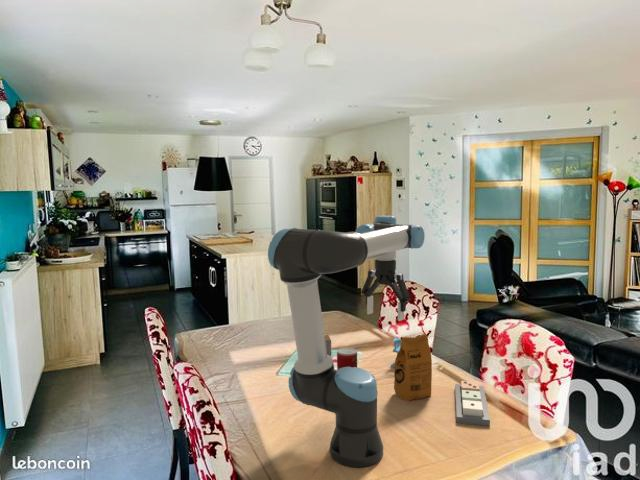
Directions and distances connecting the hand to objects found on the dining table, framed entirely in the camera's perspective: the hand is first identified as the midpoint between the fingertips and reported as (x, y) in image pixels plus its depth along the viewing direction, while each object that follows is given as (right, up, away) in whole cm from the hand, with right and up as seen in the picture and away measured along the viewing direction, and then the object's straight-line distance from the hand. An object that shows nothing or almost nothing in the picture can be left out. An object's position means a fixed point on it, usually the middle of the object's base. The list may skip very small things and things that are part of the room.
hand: (385, 316), depth 175 cm
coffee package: (+10, -28, 0) cm, 30 cm away
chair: (+11, -25, +28) cm, 39 cm away
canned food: (-13, -27, +16) cm, 34 cm away
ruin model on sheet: (-24, -25, +39) cm, 52 cm away
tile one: (+26, -28, -18) cm, 42 cm away
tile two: (+28, -27, -10) cm, 40 cm away
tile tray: (+28, -29, -10) cm, 41 cm away
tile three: (+30, -26, -3) cm, 40 cm away
